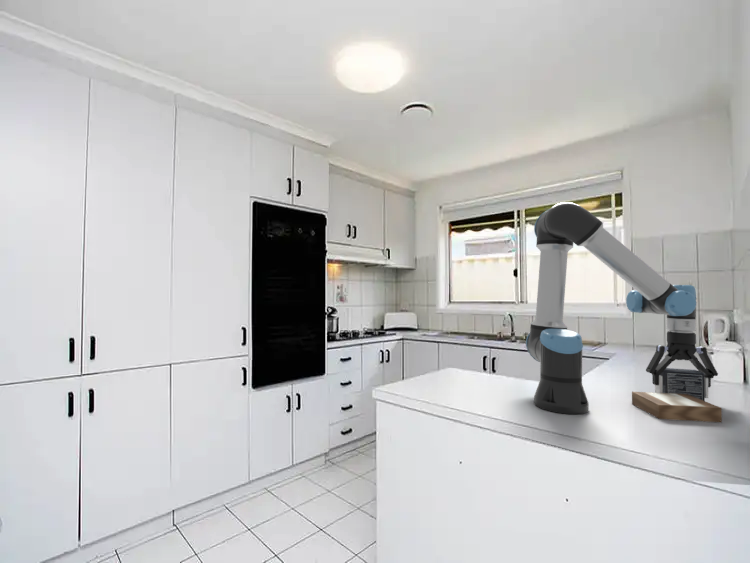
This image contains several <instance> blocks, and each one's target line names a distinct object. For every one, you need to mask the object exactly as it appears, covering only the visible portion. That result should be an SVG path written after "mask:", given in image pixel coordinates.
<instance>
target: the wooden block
mask: <svg viewBox="0 0 750 563" xmlns="http://www.w3.org/2000/svg"><path fill="white" fill-rule="evenodd" d="M631 405H633V406H635V407H636V408H639V409H640V410H642V411H644V412H645V411H646V413H648V414H649V413H650V414H649V415H651V416H652V417H654V416H655V417H654V418H656V419H658V420H669V421H670V420H671V421H673V420H674V421H688V422H689V421H691V422H692V421H693V422H694V421H695V422H709V423H710V422H711V423H722V417H723V416H722V415H723V414H722V407H720V406H718V405H715V404H713V403H710V402H708V401H703V400H700V399H698V398H695V397H693V396H690V395H688V394H673V393H655V392H650V391H649V392H646V391H631Z"/></svg>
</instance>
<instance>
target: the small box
mask: <svg viewBox="0 0 750 563" xmlns="http://www.w3.org/2000/svg"><path fill="white" fill-rule="evenodd" d="M660 376H662V393H673V394H688V395H690V396H693V397H695V398H698V399H700V400H703V401H705V399H706V398H705V392H704V373H702V372H700V371H698V369H691V368H690V369H688V368H687V369H686V368H673V367H672V368H671V367H670V368H669V367H667V368H666V369H665V370H664V371H663V372H662V373H661V374H660ZM705 402H706V401H705Z"/></svg>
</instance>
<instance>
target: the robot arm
mask: <svg viewBox="0 0 750 563" xmlns="http://www.w3.org/2000/svg"><path fill="white" fill-rule="evenodd" d="M533 231H534V235H535V237H536V248H537V249H538V250H539V253H540V255H539V267H538V268H539V269H538V282H537V293H536V294H537V296H536V297H537V298H536V308H535V319H534V320H533V321H532V322H530V329H529V333H528V335H527V336H526V340H525V346H526V349H527V353H528V354H529V355H530V357H531V358H533V360H535V361H536V362H539V363H540V365H539V367H540V368H539V371H540V372H539V373H540V376H539V377H540V378H539V382H538V385H537V388H536V390H535V393H534V395H533V396H534V398H533V402H534V403H533V405H535V406H536V407H537V408H540V409H543V410H545V411H550V412H553V413H557V414H558V413H559V414H566V415H567V414H568V415H582V414H586V413H588V412H589V410H590V408H589V400H588V397H587V395H586V392H585V389H584V386H583V385H584V384H583V348H584V344H583V339H582V335H581V334H579V332H576V331H573V330H568V326H567V325H566V323H565V322H564V306H565V295H566V283H567V282H566V281H567V266H568V253H569V252H570V250H572V249H573V248H574V245H576V246H578V247H584V248H585V249H586V250H587V251H589V252H590V253H591V254H592V255H593V256H594V257H596V258H597V259H598V260H599V261H600V262H601V263H603V264H604V265H605V266H606V267H607V268H609V269H610V270H611V271H613V272H614V273H615V274H616V275H618V277H620V278H621V279H622V280H623V281H624V282H625V283H627V284H628V285H629V286H631V287H632V288H633V289H634V290H630V291H629V292H628V294H627V295H626V299H625V303H626V307H627V309H628V311H629V312H631V313H638V314H653V315H654V314H656V315H666V329H667V330H668V331H666V341H667V342H666V343H667V344H666V346H665V345H660V344H657V345H656V347H655V349H656V350H655V352H654V354H653V356H652V358H651V359H650V361H649V363H648V365H647V366H646V368H645V371H646V373H649V374H651V376H652V384H653V385H654V393H662V376H660V374H661V373H662V372H663V371H664V370H665V369H666V368H669V366H670V364H671V363H673V362H674V361H683V360H684V361H689V362H690V363H691V364H692V365H693V366H694V367H695V369H696V370H697V371H700V372H702V373H704V392H705V399H709V388H711V386H712V385H711V384H712V379H714V377H718V375H719V373H718V371H717V369H716V367H715V366H714V363H712V360H711V358H710V356H709V355H708V349H707V347H705V346H700V345H698V346H696V344H697V334H696V333H695V332H696V330H697V328H696V327H697V323H696V321H697V320H696V318H697V292H696V288H695V286H694V285H692V284H671V283H670V282H669V281H668V280H667V279H665V278H664V277H663V276H662V275H661V274H659V273H658V272H657V271H656V270H655V269H653V268H652V267H651V266H649V264H647V263H646V262H645V261H644V260H643V259H641V258H640V257H639V256H638V255H637V254H635V253H634V252H633V251H632V250H630V249H629V248H628V247H627V246H626V245H625V244H623V243H622V242H621V241H620V240H618V239H617V237H615V236H613V235H612V233H610V232H609V231H608V230H607V229H606V228H604V222H603V221H602V220H600V219H599V218H598V217H597V216H595V215H594V214H593V213H592V212H590V211H589V210H587V209H586V208H584V207H583V206H581V205H579V204H577V203H574V202H568V201H567V202H565V201H562V202H560V203H556V204H555V205H553V206H551V208H549V209H546V210H545V211H544V212H542V213H541V214H540V215H539V216H538V217H537V219H536V220H535V223H534V228H533ZM666 352H667V353H666ZM665 353H666V355H664V354H665ZM696 353H697V354H698V356H699V358H700V360H701V362H702V363H701V362H700V360H699V359H698V358H697V356H696V355H695V354H696ZM663 357H664V358H663Z"/></svg>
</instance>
